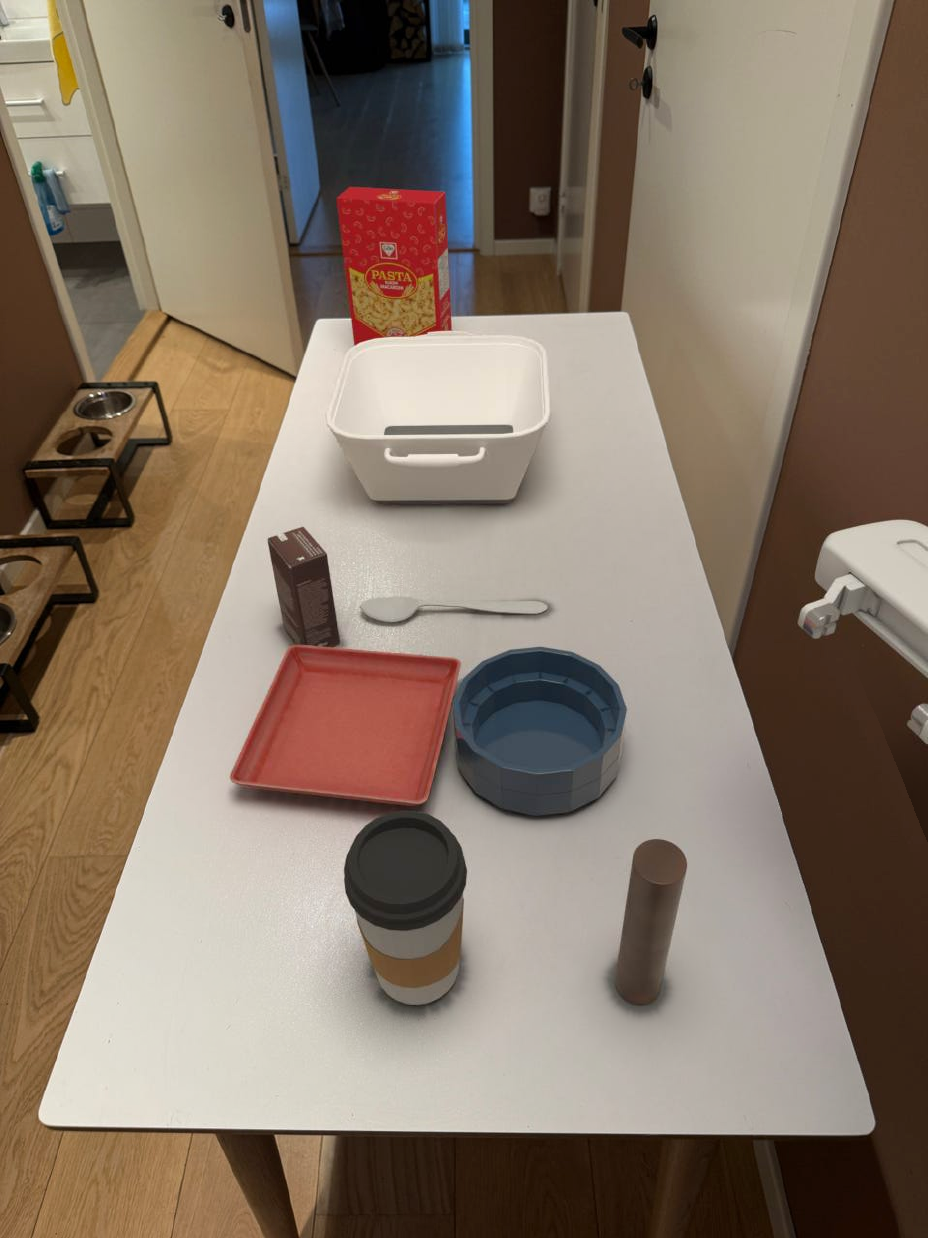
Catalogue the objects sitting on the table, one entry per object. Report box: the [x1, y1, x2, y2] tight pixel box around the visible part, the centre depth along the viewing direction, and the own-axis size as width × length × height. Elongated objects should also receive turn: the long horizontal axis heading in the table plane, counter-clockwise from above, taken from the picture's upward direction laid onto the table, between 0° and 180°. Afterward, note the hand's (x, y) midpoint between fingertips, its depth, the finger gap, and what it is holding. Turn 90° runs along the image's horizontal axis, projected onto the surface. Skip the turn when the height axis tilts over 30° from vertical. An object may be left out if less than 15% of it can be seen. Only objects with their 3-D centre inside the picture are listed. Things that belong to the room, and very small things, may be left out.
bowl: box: [452, 646, 628, 817], centre depth 84 cm, size 15×15×6 cm
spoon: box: [359, 596, 549, 623], centre depth 101 cm, size 4×21×2 cm, turn 91°
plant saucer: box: [229, 644, 462, 807], centre depth 88 cm, size 18×18×3 cm
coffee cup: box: [343, 810, 468, 1006], centre depth 66 cm, size 8×8×15 cm
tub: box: [325, 330, 552, 505], centre depth 120 cm, size 34×27×13 cm
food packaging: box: [336, 186, 453, 347], centre depth 141 cm, size 15×5×25 cm, turn 74°
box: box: [267, 526, 341, 647], centre depth 96 cm, size 6×4×12 cm
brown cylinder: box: [614, 838, 688, 1006], centre depth 64 cm, size 3×3×16 cm
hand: (859, 672), depth 54 cm, fingers open, 8 cm apart
